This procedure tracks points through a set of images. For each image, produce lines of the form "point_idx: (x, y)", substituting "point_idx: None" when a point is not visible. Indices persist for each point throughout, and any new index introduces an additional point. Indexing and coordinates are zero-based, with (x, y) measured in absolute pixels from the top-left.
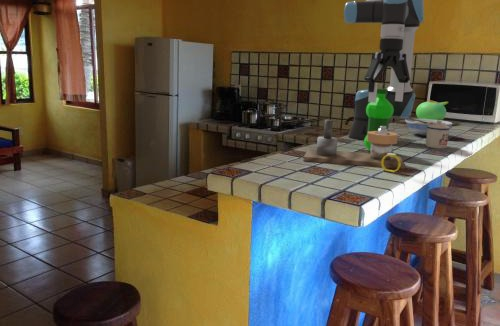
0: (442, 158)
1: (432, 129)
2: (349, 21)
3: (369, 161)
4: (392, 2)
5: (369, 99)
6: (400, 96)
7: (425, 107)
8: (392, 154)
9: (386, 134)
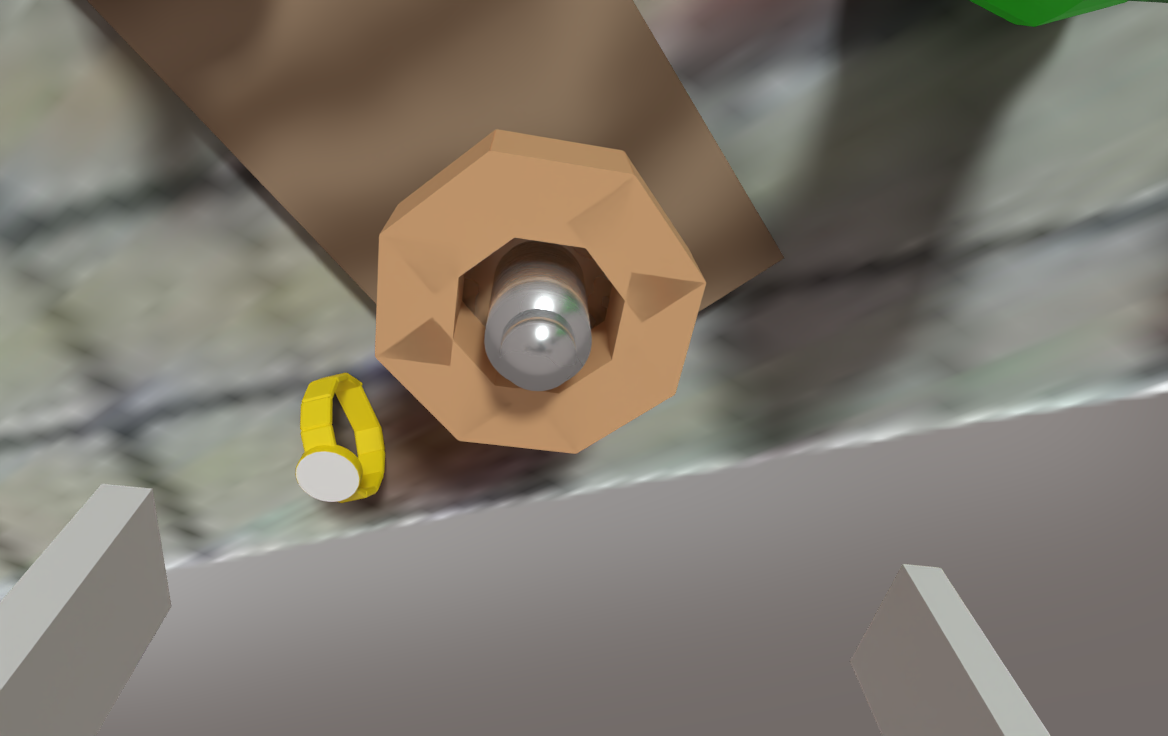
0: (1053, 396)
1: None
2: None
3: (345, 255)
4: None
5: (78, 544)
6: (898, 728)
7: None
8: (314, 490)
9: (497, 386)
